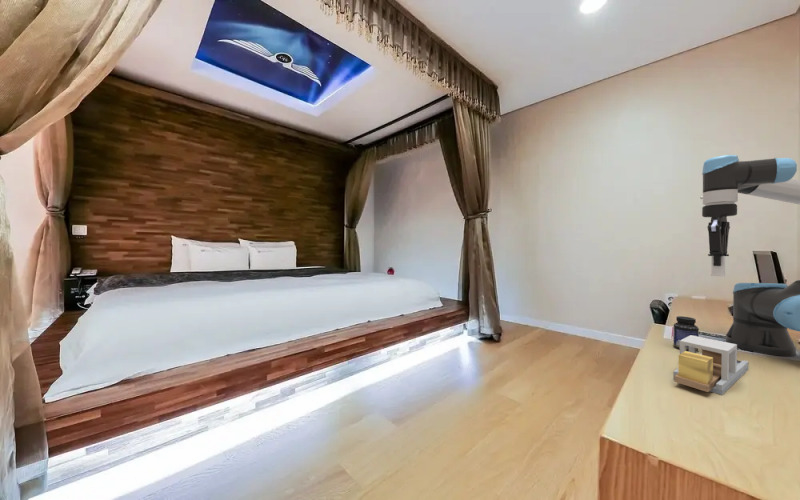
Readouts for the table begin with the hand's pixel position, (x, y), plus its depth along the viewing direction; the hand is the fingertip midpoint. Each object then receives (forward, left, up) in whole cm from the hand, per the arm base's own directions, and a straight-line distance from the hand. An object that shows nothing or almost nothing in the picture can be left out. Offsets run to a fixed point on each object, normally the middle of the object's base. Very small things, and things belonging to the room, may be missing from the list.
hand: (718, 275), depth 91 cm
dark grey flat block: (+4, +5, -26) cm, 27 cm away
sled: (+26, +13, -25) cm, 38 cm away
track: (+19, +11, -26) cm, 34 cm away
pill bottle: (+4, -6, -27) cm, 28 cm away
